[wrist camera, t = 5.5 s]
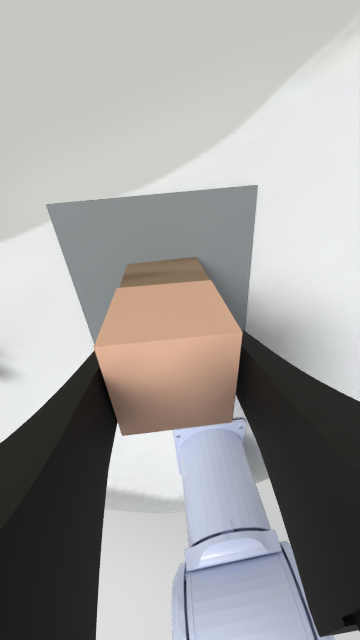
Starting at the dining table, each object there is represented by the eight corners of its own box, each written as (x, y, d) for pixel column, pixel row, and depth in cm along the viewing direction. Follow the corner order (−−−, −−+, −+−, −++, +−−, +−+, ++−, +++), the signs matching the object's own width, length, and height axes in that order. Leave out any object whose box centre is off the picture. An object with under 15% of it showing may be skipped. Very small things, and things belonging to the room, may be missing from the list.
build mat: (241, 346, 19) (243, 348, 19) (103, 363, 19) (102, 366, 18) (255, 185, 13) (257, 185, 13) (48, 204, 12) (45, 204, 12)
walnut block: (198, 315, 17) (211, 353, 13) (139, 322, 17) (134, 363, 13) (196, 256, 14) (211, 281, 11) (127, 264, 14) (117, 291, 10)
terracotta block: (209, 352, 13) (232, 422, 9) (132, 360, 13) (122, 435, 9) (211, 280, 11) (242, 332, 7) (116, 288, 10) (93, 347, 7)
